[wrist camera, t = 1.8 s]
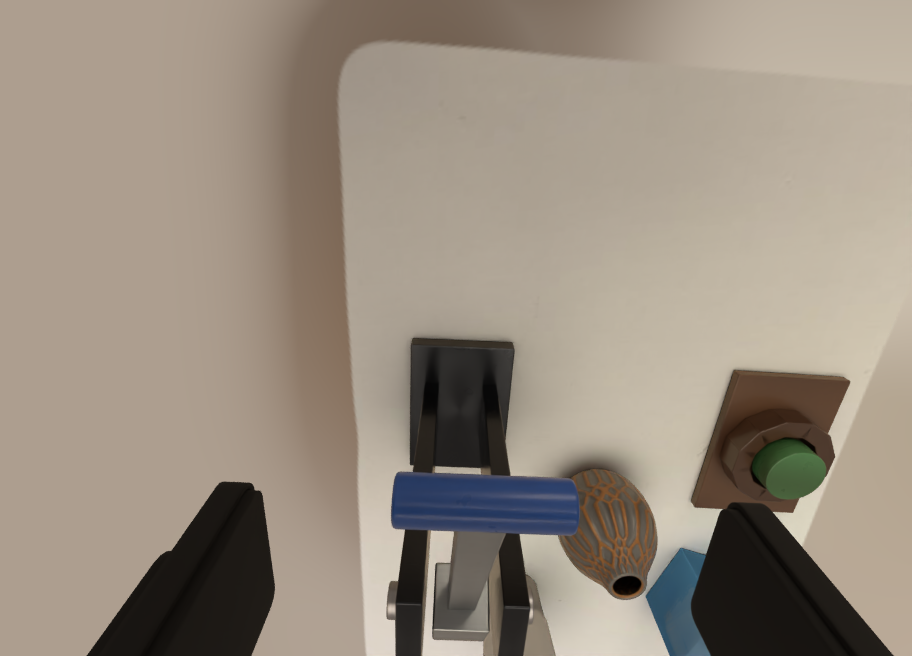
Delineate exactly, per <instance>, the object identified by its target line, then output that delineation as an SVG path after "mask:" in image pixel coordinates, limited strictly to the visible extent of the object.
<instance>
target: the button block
mask: <svg viewBox="0 0 912 656" xmlns="http://www.w3.org/2000/svg"><path fill="white" fill-rule="evenodd" d="M849 384H850V381H849V380H847V379H846V378H844V377H833V376H817V375H801V374H785V373H768V372H752V371H736V370H735V371H734V373H733V376H732V379H731V382H730V385H729V388H728V391H727V394H726V397H725V400H724V403H723V406H722V409H721V412H720V415H719V418H718V421H717V424H716V427H715V430H714V433H713V436H712V439H711V443H710V446H709V449H708V452H707V455H706V458H705V461H704V464H703V467H702V470H701V473H700V476H699V479H698V482H697V485H696V488H695V491H694V494H693V497H692V500H691V502H692V504H693V505H694V507H697V508H715V509H727V507H728V505H729V504H730V503H732V502H745V503H762V504H764V505H766V506H767V507H768V508H769V509H770V510H771V511H772V512H787V513H793V512H794V509H795V507H796V505H797V502H798V500H799V498H797V499H780V498H777V497H775V496H773V495H772V494H771V493H770V492H769V491H768V490H767V489H766V488H765V487H764V485H763V484H762V483H761V482H760V481H759V480H758V479H757V477H756V476H755V475H754V473H753V470H752V462H753V459H754V456H755V455H756V454H757V453H758V452H759V451H760V450H761V449H762V448H763V447H764V446H766V445H767V444H768V443H770V442H773V441H776V440H779V439H781V438H793V439H797V440H800V441H802V442H803V443H804V444H805V445H807V446H808V447H809V448H810V449H811V450H812V451H813V452H814V453H816V454H817V455H818V456H819V457H820V458H821V459H822V460H823V461H824V463H825V466H826V475H825V477H826V476H827V474H828V471H829V469H830V467H831V465H832V463H833V460H834V458H835V454H834V449H833V445H832V440H831V437H830V435H828V432H829V430H830V427H831V425H832V423H833V421H834V418H835V416H836V414H837V412H838V409H839V407H840V405H841V402H842V400H843V398H844V396H845V393H846V391H847V389H848V387H849Z"/></svg>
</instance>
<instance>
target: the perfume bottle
mask: <svg viewBox="0 0 912 656" xmlns="http://www.w3.org/2000/svg"><path fill="white" fill-rule="evenodd" d="M705 557H706V555H703V554H700V553H696V552H693V551H689V550H686V549H682V548H681V549H680V550H679V551H678V553H677V554H676V556H675V557H674V558H673V560H672V561H671V562H670V564H669V565H668V567H667V568H666V569H665V571H664V572H663V573H662V575H661V576H660V577H659V579H658V580H657V582H656V583H655V584H654V586H653V587H652V588H651V590H650V591H649V593H648V594H647V595H646V598H647V601H648V603H649V606H650V608H651V611H652V613H653V616H654V618H655V621H656V623H657V625H658V628H659V630H660V633H661V635H662V638H663V640H664V643H665V645H666V648H667V650H668V653H669V655H670V656H711V655H710V653H709V651H708V649H707V647H706V645H705V643H704V641H703V639H702V637H701V635H700V633H699V631H698V629H697V627H696V625H695V623H694V620H693V617H692V613H691V599H692V596H693V593H694V590H695V587H696V584H697V581H698V578H699V575H700V572H701V569H702V566H703V563H704V560H705Z"/></svg>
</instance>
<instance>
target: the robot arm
mask: <svg viewBox="0 0 912 656" xmlns="http://www.w3.org/2000/svg"><path fill="white" fill-rule="evenodd" d="M274 591H275V583H274V576H273V569H272V561H271V554H270V547H269V540H268V532H267V525H266V518H265V510H264V503H263V496H262V493H261V492H260V491H255V490H254V486H253V484H251V483H244V482H243V483H242V482H221V483H219V484H218V485H217V487H216V488H215V490H214V491H213V492H212V494H211V495H210V496H209V498H208V499H207V501H206V502H205V504H204V505H203V507H202V508H201V509H200V511H199V512H198V514H197V515H196V517H195V518H194V519H193V521H192V522H191V524H190V525H189V526H188V528H187V529H186V531H185V532H184V534H183V535H182V537H181V538H180V539H179V541H178V542H177V544H176V545H175V547H174V548H173V549H172V551H167V552H165V553H163V554H162V555H160V557H159V558H158V559H157V560H156V561H155V562H154V563H153V565H152V566H151V567H150V569H149V570H148V572H147V573H146V574H145V576H144V577H143V579H142V580H141V581H140V583H139V584H138V585H137V587H136V588H135V590H134V591H133V592H132V594H131V595H130V597H129V598H128V599H127V601H126V602H125V604H124V605H123V606H122V608H121V609H120V611H119V612H118V613H117V615H116V616H115V617H114V619H113V620H112V622H111V623H110V624H109V626H108V627H107V628H106V630H105V631H104V633H103V634H102V635H101V637H100V638H99V640H98V641H97V642H96V644H95V645H94V646H93V648H92V649H91V651H90V652H89V653H88V655H87V656H251V655H252V653H253V650H254V648H255V645H256V643H257V640H258V638H259V635H260V633H261V630H262V628H263V625H264V623H265V620H266V618H267V616H268V613H269V611H270V608H271V605H272V602H273V598H274ZM691 613H692V617H693V620H694V623H695V625H696V627H697V629H698V631H699V633H700V635H701V637H702V639H703V641H704V643H705V645H706V647H707V649H708V651H709V653H710V655H711V656H893V655H892V654H891V652H890V651H889V650H888V649H887V647H886V646H885V645H884V644H883V643H882V641H881V640H880V639H879V638H878V637H877V635H876V634H875V633H874V632H873V631H872V630H871V628H870V627H869V626H868V625H867V624H866V623H865V621H864V620H863V619H862V618H861V617H860V615H859V614H858V613H857V612H856V611H855V610H854V608H853V607H852V606H851V605H850V604H849V602H848V601H847V600H846V599H845V598H844V596H843V595H842V594H841V593H840V592H839V590H838V589H837V588H836V587H835V586H834V584H833V583H832V582H831V581H830V580H829V579H828V577H827V576H826V575H825V574H824V573H823V572H822V570H821V569H820V568H819V567H818V565H817V564H816V563H815V562H814V561H813V560H812V558H811V557H810V556H809V555H808V554H807V552H806V551H805V550H804V549H803V548H802V546H801V545H800V544H799V543H798V542H797V541H796V539H795V538H794V537H793V536H792V535H791V533H790V532H789V531H788V530H787V529H786V527H785V526H784V525H783V524H782V523H781V522H780V520H779V519H778V518H777V517H776V516H775V514H774V513H773V512H772V511H771V510H770V509H769V508H768V507H767V506H766V505H764V504H762V503H745V502H732V503H730V504H729V505H728V507H727V509H723V510H722V511H721V512H720V514H719V517H718V520H717V523H716V526H715V529H714V532H713V535H712V538H711V541H710V544H709V547H708V550H707V554H706V557H705V560H704V563H703V566H702V569H701V572H700V575H699V578H698V581H697V584H696V587H695V590H694V593H693V596H692V599H691Z"/></svg>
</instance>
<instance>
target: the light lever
mask: <svg viewBox="0 0 912 656" xmlns="http://www.w3.org/2000/svg"><path fill="white" fill-rule="evenodd" d="M579 519H580V504H579V496H578V491H577V488H576V485H575V483H574V481H573V480H572V479H570V478H552V477H526V476H501V475H475V474H450V473H424V472H398V473H397V474H396V476H395V479H394V485H393V493H392V506H391V522H392V526H393V528H395V529H407V530H433V531H454V538H453V547H452V555H451V563H436V565H435V586H434V606H433V627H432V637H433V639H434V640H458V641H484V639H485V638H486V636H487V635H488V633H489V631H490V617H489V574H490V572H491V569H492V567H493V564H494V562H495V559H496V557H497V554H498V552H499V549H500V547H501V544H502V542H503V539H504V537H505V534H506V533H513V534H540V535H566V536H572V535H574V534H576V532H577V529H578V525H579Z"/></svg>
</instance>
